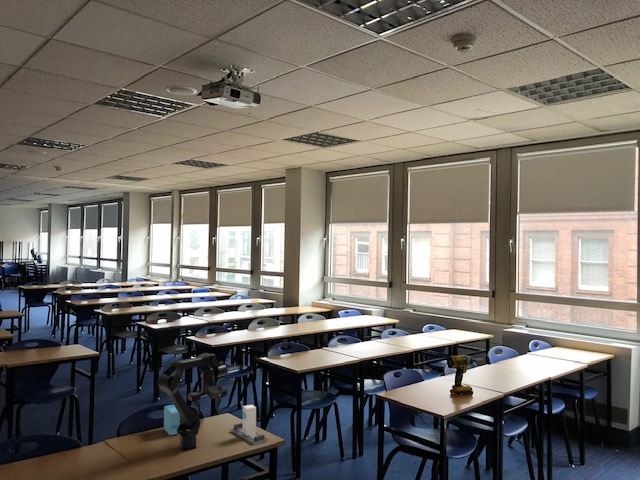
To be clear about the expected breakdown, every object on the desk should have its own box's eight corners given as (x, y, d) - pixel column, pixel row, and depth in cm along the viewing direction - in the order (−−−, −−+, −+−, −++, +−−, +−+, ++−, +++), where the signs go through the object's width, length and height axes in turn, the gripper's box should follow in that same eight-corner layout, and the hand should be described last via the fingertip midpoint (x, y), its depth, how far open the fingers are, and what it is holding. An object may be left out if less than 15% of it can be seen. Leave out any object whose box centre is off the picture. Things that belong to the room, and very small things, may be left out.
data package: (179, 434, 244) (179, 410, 245) (170, 436, 242) (170, 411, 242) (172, 427, 255) (172, 403, 255) (163, 429, 252) (164, 405, 252)
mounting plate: (253, 445, 232) (253, 438, 232) (230, 431, 249) (230, 425, 249) (267, 441, 237) (267, 434, 237) (244, 428, 254) (244, 422, 254)
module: (245, 435, 239) (246, 408, 239) (242, 432, 243) (242, 406, 244) (255, 434, 242) (256, 407, 242) (252, 430, 246) (252, 404, 246)
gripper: (197, 386, 227) (197, 420, 227) (233, 379, 239) (233, 412, 239) (187, 381, 236) (187, 414, 236) (222, 375, 248) (222, 406, 247)
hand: (207, 411), depth 239 cm, fingers open, 9 cm apart
